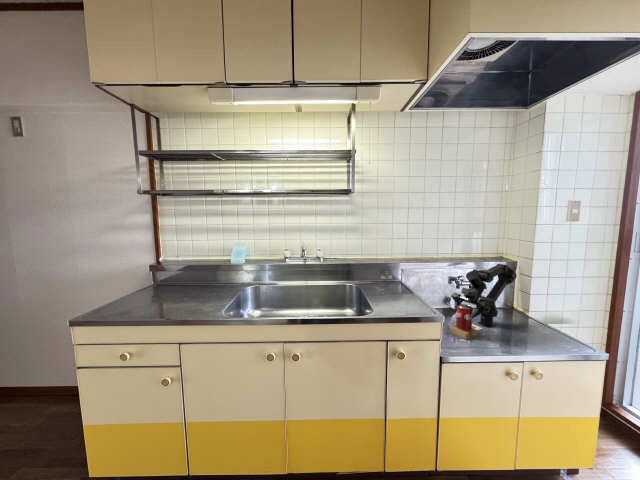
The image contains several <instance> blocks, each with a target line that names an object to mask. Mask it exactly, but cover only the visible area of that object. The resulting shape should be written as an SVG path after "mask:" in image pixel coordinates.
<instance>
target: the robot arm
mask: <svg viewBox="0 0 640 480" xmlns="http://www.w3.org/2000/svg"><path fill="white" fill-rule="evenodd" d="M496 276H497V280H496V282H495V284H494V285H493V287H492V288H491V290H489V292H488V294H487V295H486V296H485V295H484V296H483V295H482V294H483V293H484V291H485V290H487V288H488V287H487V284H486V283H488V284H489V283H492V281H494V278H495V277H496ZM517 277H518V276H517V273H516V272H515V270H514V269H512V268H511V267H509V265H507V264H503V263H498V264H496V265H495V266H492V267H490V268H488V269H479V270H478V269H472V270H471V271H469V272H467V273H465V278H466V279H467V281H468V283H469V284H470V285H471V287H470V288H468V287H467V288H466V287H462V288H461V292H460V293H457V292H452V293H451V295H450V296H451V298H452V300H453V301H454V305H453V306H454V308H453V312H454V313H455V314H457V305H459V304H463V302H465V303H468V304H471V305H474V306H475V309H474V311H473V314H472V316H471V318H472V320H473V319H475V318H476V317H477V316H479V315H480V317H479V318H480V320H479V321H478V322H477V324H479V325H481V326H484V327H486V328H492V327H494V326H496V325H497V324H496V323H494V318H497V316H498V313H499V310H498V309H497V305H496V303H497V300H499V297H500V296H501V294H502V293H503V291H504V290H505V288H506V287H507V286H508V285H510V284H512V283H513V282H514V281H515V280H516V279H517ZM462 294H463V296H462Z"/></svg>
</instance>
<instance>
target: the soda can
mask: <svg viewBox="0 0 640 480" xmlns="http://www.w3.org/2000/svg"><path fill="white" fill-rule="evenodd" d="M473 310H474V307H473V306H472V305H470V304H465V303H461V304H459V305H457V312H456V315H455V316H456V321H455V325H456V327H457V328H458V329H459V330H462V331H470V330H471V329H472V324H473V319H472V318H471V316H472V314H473V312H474V311H473Z"/></svg>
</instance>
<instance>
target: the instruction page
mask: <svg viewBox="0 0 640 480" xmlns="http://www.w3.org/2000/svg"><path fill="white" fill-rule="evenodd" d="M472 328H473V329H475V330H477V331H481V330H483V327H481V326H478V325H475V324H473V323H472Z"/></svg>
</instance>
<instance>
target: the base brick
mask: <svg viewBox="0 0 640 480" xmlns="http://www.w3.org/2000/svg"><path fill="white" fill-rule="evenodd" d="M449 333H451V334H453V335H455V336H457V337H459V338H461V339H463V340H466V341H467V340H469V339H471V338H474V337H478V330H475V329H473V328H472V329H471V330H470V331H462V330H459V329H458V328H457V327H456V324H454V325H453V326H450V327H449Z"/></svg>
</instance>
